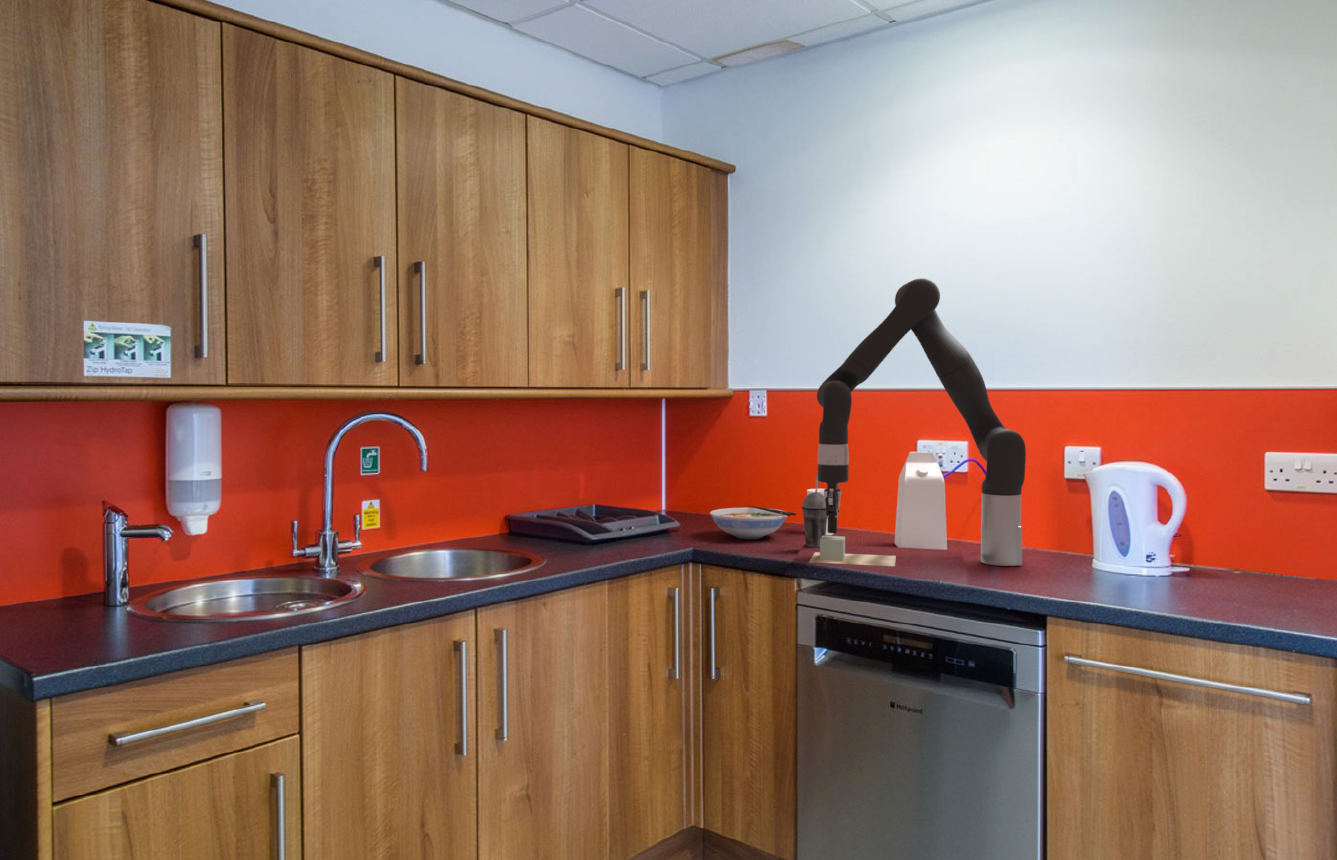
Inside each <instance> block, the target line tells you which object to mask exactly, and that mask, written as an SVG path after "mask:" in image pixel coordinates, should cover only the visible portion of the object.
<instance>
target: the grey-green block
mask: <svg viewBox="0 0 1337 860" xmlns="http://www.w3.org/2000/svg"><path fill="white" fill-rule="evenodd" d="M819 552H820V560H840V561H843V560H844V558H845V554H846V536H839V535H826V536H822V537H821V538H820V547H819Z"/></svg>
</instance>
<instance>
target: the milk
mask: <svg viewBox="0 0 1337 860" xmlns="http://www.w3.org/2000/svg"><path fill="white" fill-rule="evenodd" d="M896 498H897V501H896V513H895V514H896V517H895V529H894V530H895V531H894V544H895V546H896V547H897V548H899V549H901V548H904V549H923V550H925V549H927V550H948V542H947V541H948V539H947V512H946V507H947V506H946V484H945V478H944V475H943V473H942V471H941V468H940V466H939V463H938V461H937V458H936V456H935V455H934V453H933V452H932V451H910V452H909V453H908V456H907V458H906V460H905V462H904V464H903V467H902V469H901V471H900V474H899V476H898V486H897V497H896Z"/></svg>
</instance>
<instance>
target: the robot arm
mask: <svg viewBox="0 0 1337 860" xmlns="http://www.w3.org/2000/svg"><path fill="white" fill-rule="evenodd" d="M940 301H941V292H940V288H939V287H938V285H937V284H936V282H934V281H932V280H931V279H929V278H923V277H922V278H920V277H919V278H915V279H913V280H910V281H909V282H907V283H904V284H903V285H902V286H901V287H899V288H898V290H897V291H896V293H895V297H894V304H895V305H894V306H895V307H894V308H893V309H892V310H891V312H890V313H889V314H888V315H887V316H886V317H885V319H884V320H883V321H882V322H881V323H880V324H878V326H877V327H876V328H874V330H873V331H872V332H871V331H870V333H869V334H868V335H867V336H866V337H865V338H863V340H862V341H861V342H860V343H859V344H858V345H857V346H856V347H855V349H854V350H853V351H852V352H851V353H850V354H849V355H848V356H847V358H846V359H845V360H844V362H843V363H842V364H841V365H840V366H839V367H838V368H836V370H834V372H832V373H831V374H830V375H829V376H828V377H827V378H826V379H825V380H824V381H823V382H822V383H821V385H819V388H818V389H817V392H816V399H817V402H818V404H819V405H820V406H821V407H822V408H823V409H822V420H821V421H820V423H819V427H818V428H819V429H818V449H817V476H818V478H817V479H818V482H820V483H826V488H824V489H825V490H824V497H825V508H826V516H827V518H828V533H833V534H837V532H838V517H839V512H840V507H841V497H842V488H839V486H840V485H839V484H841V483H842V484H844V483H848V482H849V481H850V480H849V477H850V476H849V475H850V474H849V473H850V471H849V469H850V464H849V463H850V454H849V453H850V451H849V445H848V444H849V422H850V418H851V416H850V415H851V410H852V404H853V403H852V401H853V400H852V392H853V391H854V390H855V389H856V388H857V387H858V386H859V385H861V384H862V383H864V382H865V381H867V380H868V379H869V377H870V376H871V375H872V374H873V373H874V372H875V371H876V369H877V368H878V367H879V366H880V365H881V364H882V362H883V361H884V360H885V359H886V357H887V356H888V355H889V354H890V353H891V351H893V349H894V348H895V347H896V346H897V345H898V343H899V342H900V341H901V340H902V339H903V338H904V337H905V336H906V335H907V334H908V333H909V332H910V331H911V332H912V333H913V334H914V336H915V338H916V340H917V341H918V342H919V344H920V346H921V347H922V350H923V351H924V354H925V355H926V357H927V359H928V361H929V362H930V365H931V366H932V368H933V370H934V372H935V373H936V376H937V378H938V379H939V381H940V383H941V385H942V387H943V388H944V389H945V391H946V393H947V395H948V396H949V398H950V400H951V401H952V403H953V404H954V406H955V408H956V409H957V410H958V412H959V413H960V415H961V416H962V417H963V418H962V419H964V422H965V423H966V425H967V427H968V429H969V431H970V433H971V436H972V438H973V441H974V444H975V445H976V447H977V449H978V452H979V453H980V456H981V457H982V459H984V461H986V472H985V477H984V479H983V481H982V482H981V508H980V509H981V510H980V511H981V513H980V514H981V515H980V517H981V521H980V522H981V523H980V562H981V563H983V564H985V565H990V566H1003V567H1008V566H1009V567H1014V566H1022V563H1023V562H1022V561H1023V559H1022V558H1023V557H1022V556H1023V555H1022V554H1023V551H1022V550H1023V526H1022V491H1023V490H1022V488H1023V485H1024V482H1025V477H1026V475H1025V474H1026V457H1027V454H1026V453H1027V452H1026V451H1027V449H1026V443H1025V440H1024V438H1023V436H1021V434H1020V433H1019V432H1017V431H1016V430H1012V429H1009V428H1006V427H1005V425H1003V423H1002V421H1001V420H1000V418H999V417H998V415H997V413H996V412H995V411H994V409H993V407H992V404H991V401H990V398H989V395H988V390H987V387H986V386H987V385H986V384H985V383H986V382H985V380H984V378H983V375H982V374H981V372H980V371H981V370H980V369H979V367H978V366H977V363H975V361H974V359H973V357H972V356H971V354H970V352H968V350H967V349H966V348H965V347H964V346H963V344H962V343H960V341H958V339H956V337H954V336H953V334H952V333H951V332H949V330H948V329H947V328H946V327H945V325H944V323H943V322H942V320H941V318H940V317H939V314H938V312H937V311H936V308H938V306H939V304H940Z"/></svg>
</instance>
